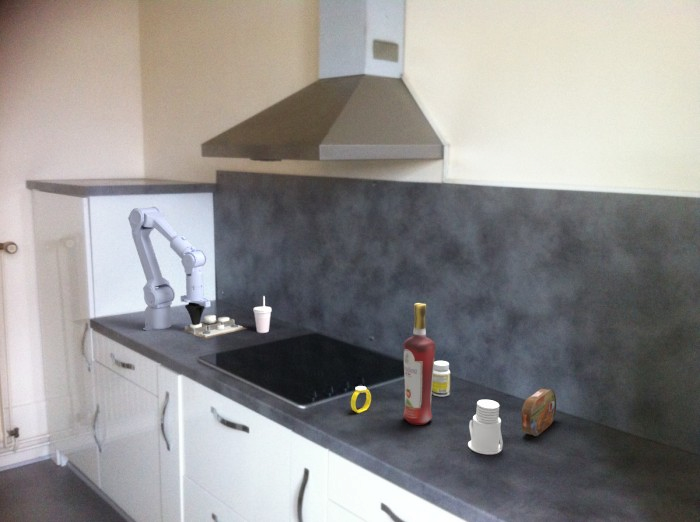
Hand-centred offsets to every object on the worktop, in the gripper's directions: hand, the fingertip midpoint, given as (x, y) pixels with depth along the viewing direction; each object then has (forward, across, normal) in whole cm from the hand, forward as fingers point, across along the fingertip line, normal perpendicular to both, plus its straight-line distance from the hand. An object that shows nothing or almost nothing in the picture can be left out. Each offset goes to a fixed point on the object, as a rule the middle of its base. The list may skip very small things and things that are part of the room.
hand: (195, 324), depth 224 cm
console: (+4, +2, +6) cm, 8 cm away
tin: (+4, +124, +5) cm, 124 cm away
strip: (+2, +6, +6) cm, 9 cm away
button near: (+2, 0, 0) cm, 2 cm away
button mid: (0, 0, +6) cm, 6 cm away
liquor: (+4, +100, -10) cm, 101 cm away
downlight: (+4, +119, -12) cm, 120 cm away
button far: (+2, 0, +12) cm, 12 cm away
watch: (+4, +86, -14) cm, 88 cm away
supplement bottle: (+4, +94, +9) cm, 95 cm away
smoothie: (+4, +16, +16) cm, 23 cm away
